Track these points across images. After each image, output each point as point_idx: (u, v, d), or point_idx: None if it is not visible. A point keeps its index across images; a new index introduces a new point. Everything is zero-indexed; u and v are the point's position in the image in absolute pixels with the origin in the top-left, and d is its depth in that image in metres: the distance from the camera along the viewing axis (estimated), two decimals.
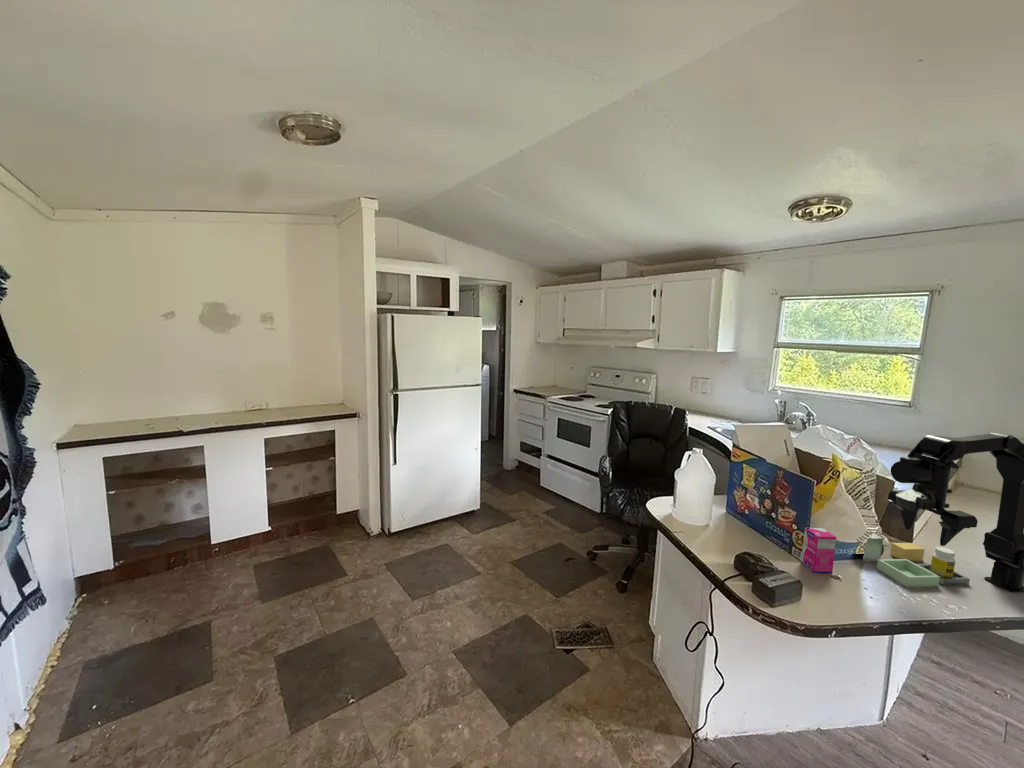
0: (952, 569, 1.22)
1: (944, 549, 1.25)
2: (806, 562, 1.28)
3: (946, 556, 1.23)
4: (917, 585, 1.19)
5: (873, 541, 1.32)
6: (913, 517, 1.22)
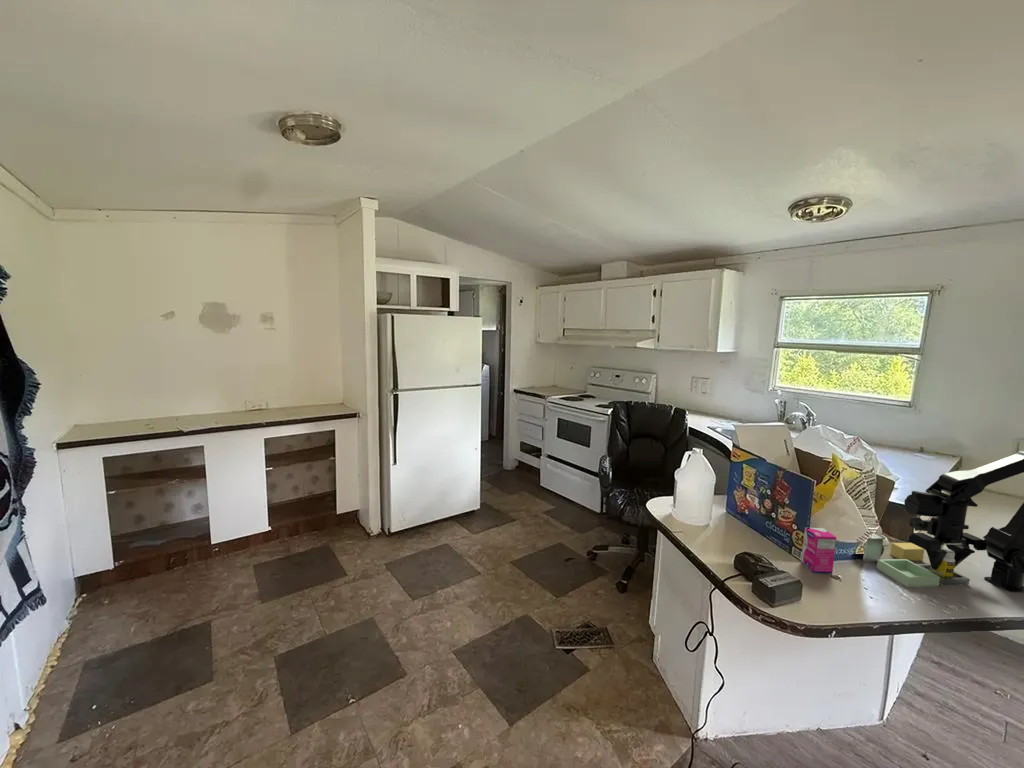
0: (952, 569, 1.22)
1: (944, 549, 1.25)
2: (806, 562, 1.28)
3: (946, 555, 1.23)
4: (917, 585, 1.19)
5: (873, 541, 1.32)
6: (958, 560, 1.23)
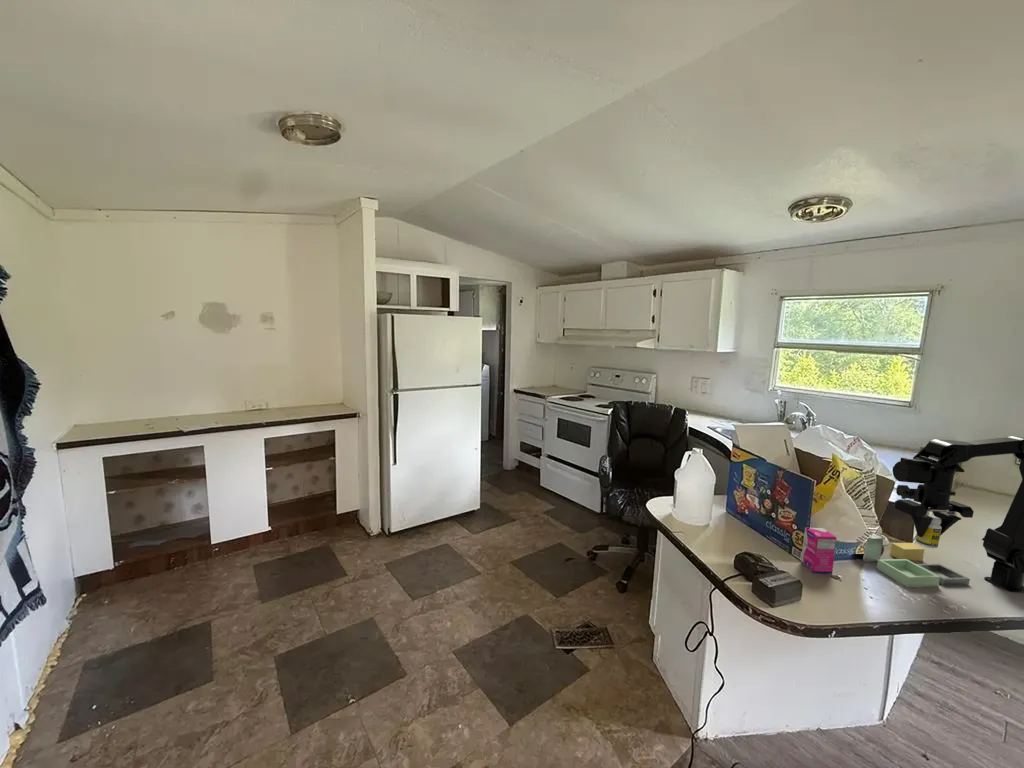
0: (938, 536, 1.21)
1: (930, 516, 1.23)
2: (806, 562, 1.28)
3: (932, 522, 1.21)
4: (917, 585, 1.19)
5: (873, 541, 1.32)
6: (944, 527, 1.21)
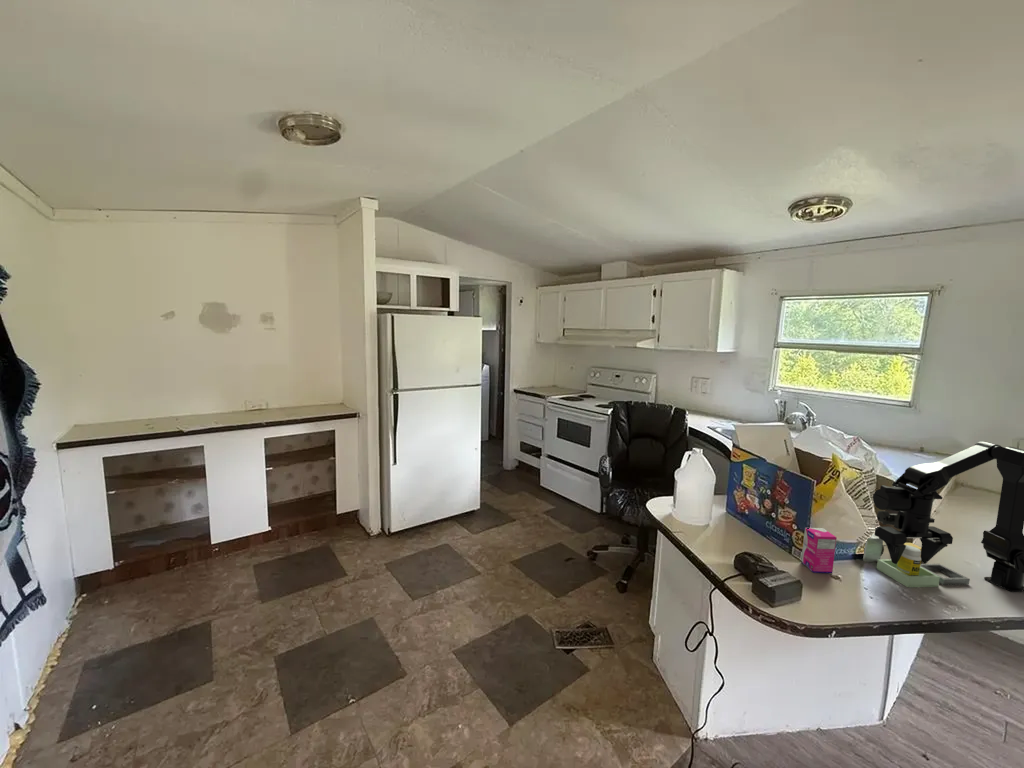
0: (918, 567, 1.21)
1: (910, 547, 1.23)
2: (806, 562, 1.28)
3: (912, 554, 1.22)
4: (917, 585, 1.19)
5: (873, 541, 1.32)
6: (931, 554, 1.22)
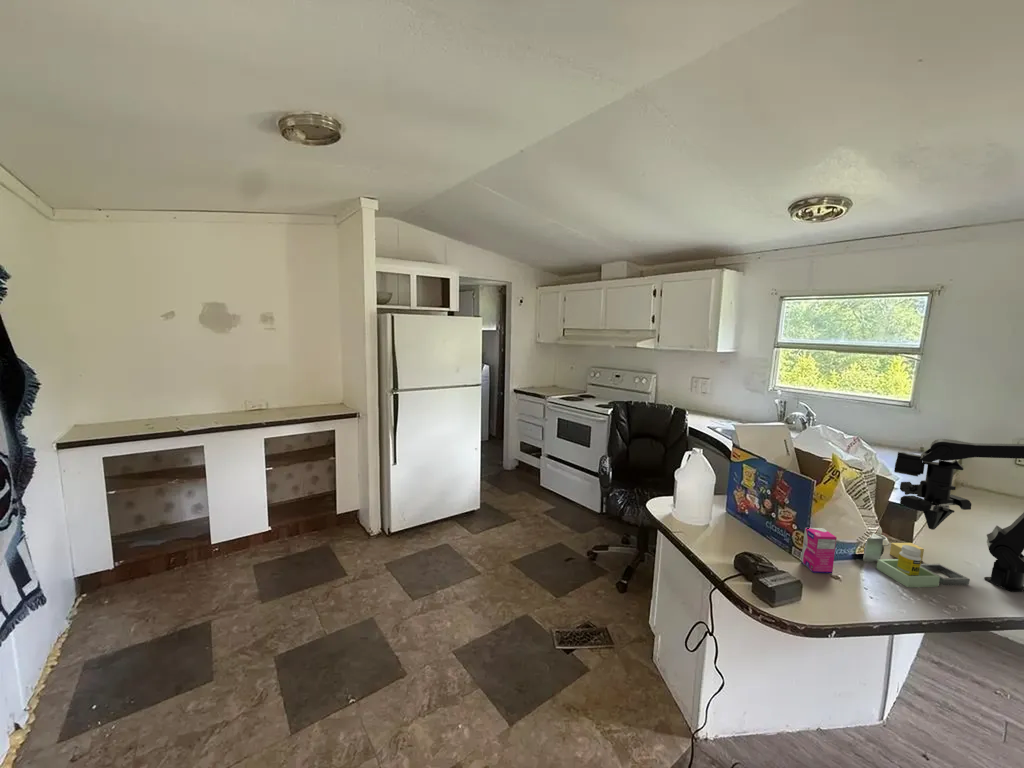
0: (918, 567, 1.21)
1: (910, 547, 1.24)
2: (806, 562, 1.28)
3: (912, 554, 1.22)
4: (917, 585, 1.19)
5: (873, 541, 1.32)
6: (940, 520, 1.30)
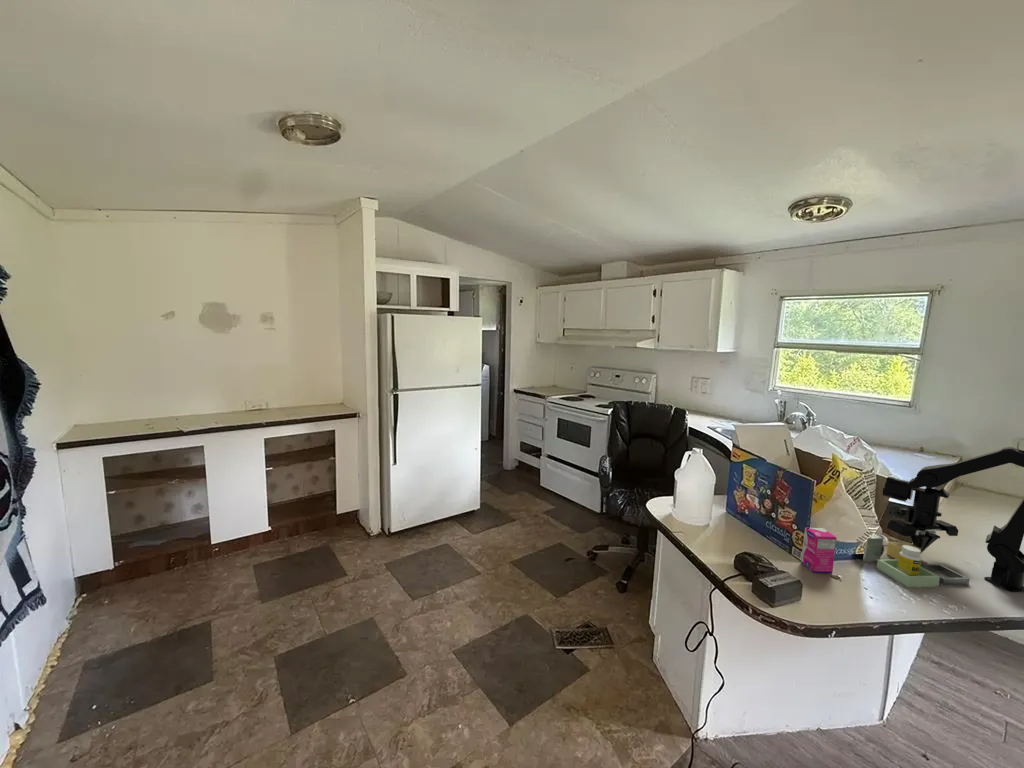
0: (918, 567, 1.21)
1: (910, 547, 1.24)
2: (806, 562, 1.28)
3: (912, 554, 1.22)
4: (917, 585, 1.19)
5: (873, 541, 1.32)
6: (925, 545, 1.34)
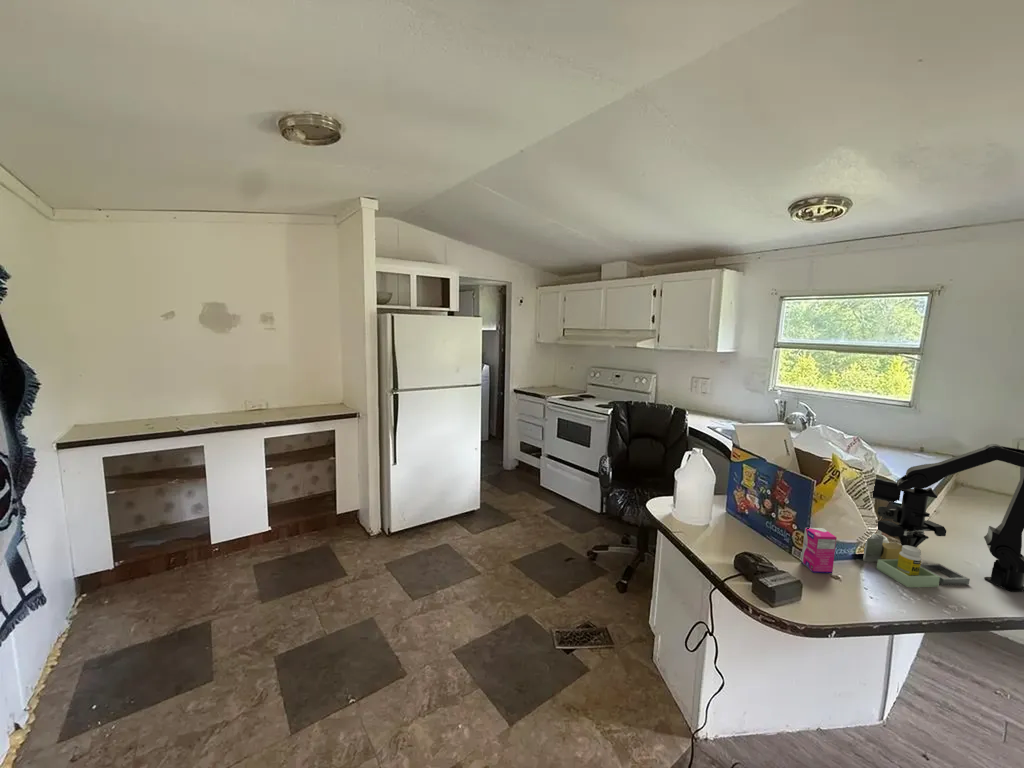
0: (918, 567, 1.21)
1: (910, 547, 1.24)
2: (806, 562, 1.28)
3: (912, 554, 1.22)
4: (917, 585, 1.19)
5: (873, 541, 1.32)
6: (914, 545, 1.34)
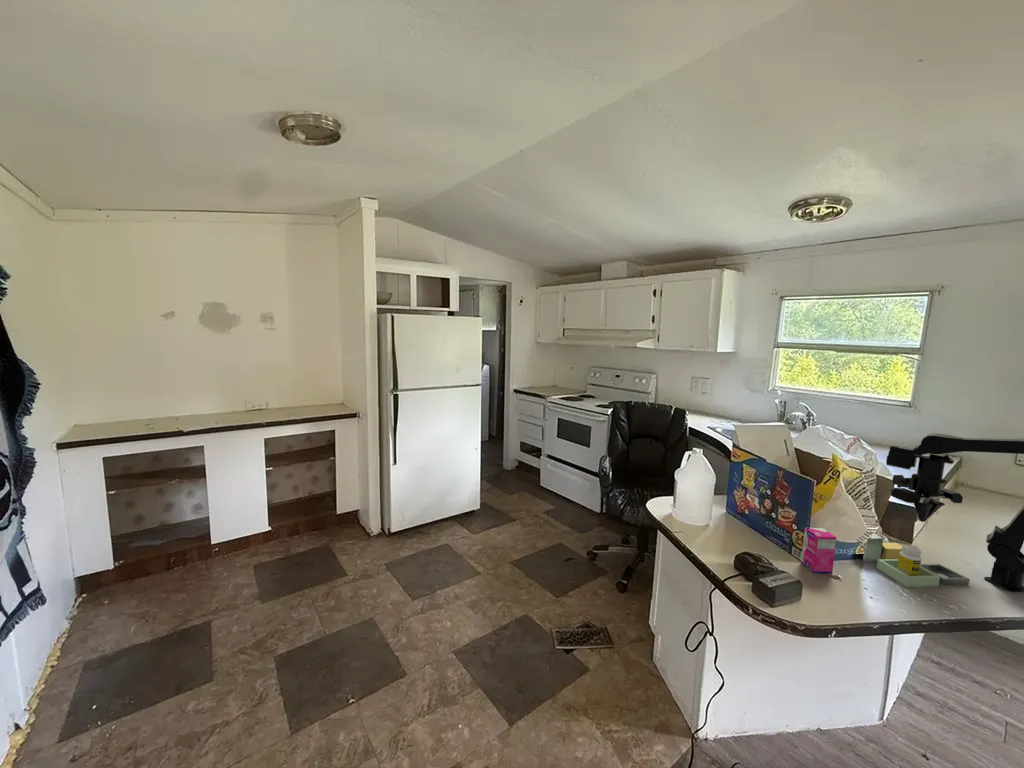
0: (918, 567, 1.21)
1: (910, 547, 1.24)
2: (806, 562, 1.28)
3: (912, 554, 1.22)
4: (917, 585, 1.19)
5: (873, 541, 1.32)
6: (930, 512, 1.33)
